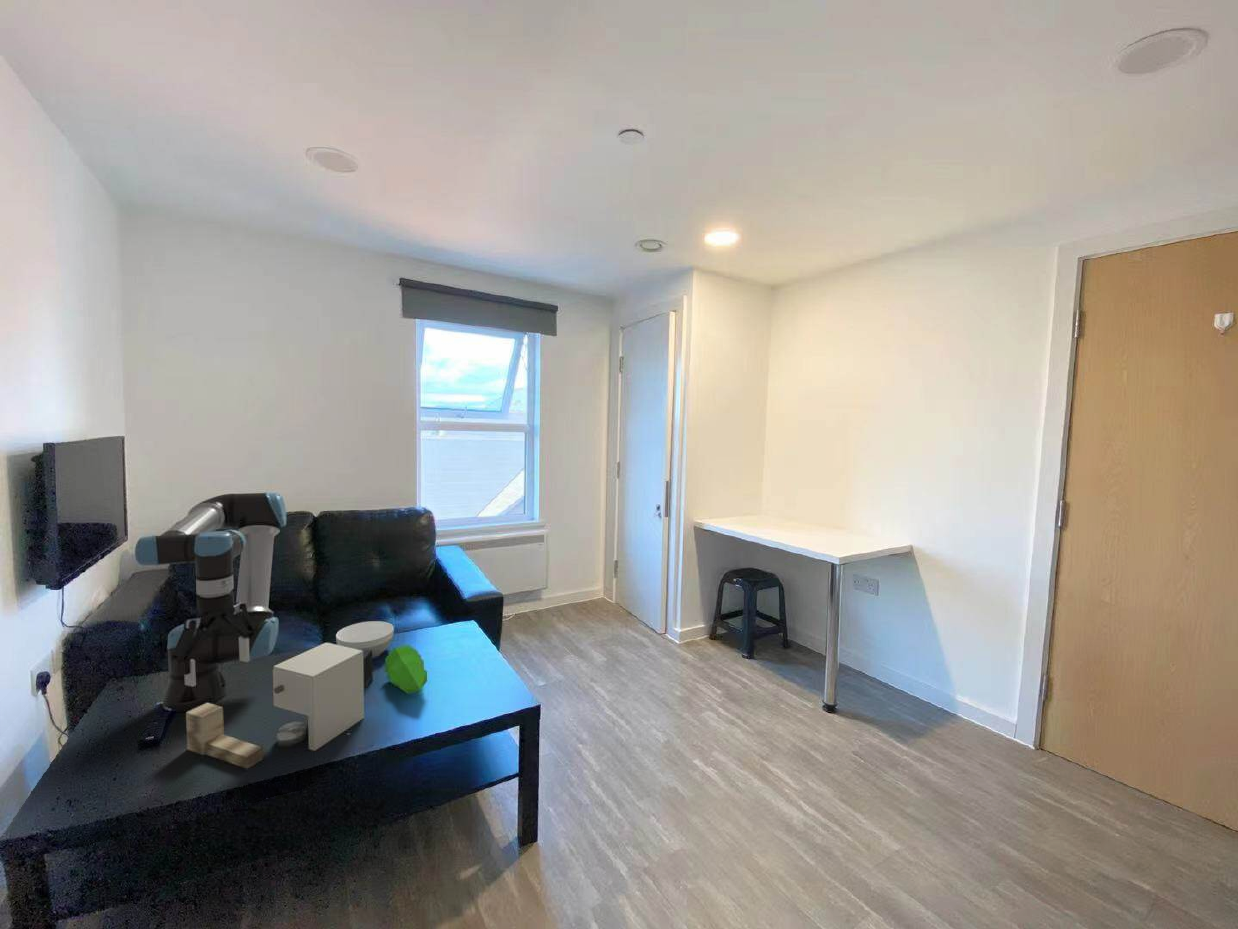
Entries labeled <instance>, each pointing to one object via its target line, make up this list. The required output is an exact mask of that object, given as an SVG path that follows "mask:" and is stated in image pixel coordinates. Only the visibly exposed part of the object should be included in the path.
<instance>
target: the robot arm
mask: <svg viewBox="0 0 1238 929" xmlns="http://www.w3.org/2000/svg"><path fill="white" fill-rule="evenodd" d="M285 526H287V510H286V506H285V501H284V498H283V496H282V495H281V494H280V493H278V492H254V493H253V492H252V493H224V494H219V495H216V496H214V497H210V498H207V499H205V500H203V501H201V502H199V503H197V504H196V505H194V506H193V507H191V508H190V509H189V510H188V513H187V515H186V516H185V517H184V518H182V519H181V520H179V521H178V522H176V523H175V524H173V526H171V527H170V528H168V529H167V530H166V531H164V532H163V533H162V534H160V535H149V536H142V537H140V538H139V539H138V540H137V542H136V544H135V547H134V556H135V560H136V562H137V563H138V565H140V566H161V565H162V566H163V565H173V564H174V565H175V564H188V563H190V564H191V563H195V581H196V582H195V583H196V584H195V586H196V588H195V589H196V590H195V591H196V592H195V593H196V595H197V597H196V606H197V607H196V608H197V609H196V610H197V612H198V616H197V617H196V618H193V619H191V618H190V619H189V618H187V619H185V620H184V622H183V623H182V624H181V625H178V626H176V627H174V628H173V629H171V631H169V633H168V635H167V646H166V649H167V662H168V664H167V665H168V678H169V679H168V682H167V685H166V688H165V691H164V693H163V696H162V698H161V699H162V701H161V702H162V703H161V704H162V705H163V706H165V707H168V708H171V709H172V710H174V711H176V712H175V713H178V712H179V713H182V712H188V711H190V710H192V709H194V708H197V707H199V706H201V705H203V704H205V703H210V704H214V703H216V702H217V701H220V700H221V699H223V697H225V696H226V695H227V692H228V683H227V681H226V679H225V677H224V675H223V673H222V671H221V669H220V664H221V663H222V664H223V663H229V662H236V661H237V662H238V661H240V662H244V663H248V662H250V661H251V660H255V659H258V658H259V659H260V658H263V657H267V656H269V655H270V654H271V653H272V652H273V650H274V648H275V646H276V642H277V638H278V633H279V624H280V622H279V618H278V617H277V616H276V617H275V616H274V611H273V610H271V609H270V608H269V601H270V588H271V577H272V567H273V566H272V565H273V554H274V553H273V552H274V542H275V541H274V540H275V537H276V536H277V535H278V534H279V533H280V531H281V528H283V527H285ZM222 529H223V530H222ZM224 529H225V530H224ZM236 529H237V530H236ZM217 530H218V531H217ZM220 530H221V531H220ZM239 555H240V560H239V570H238V571H239V572H238V578H237V579H238V580H237V588H236V590H237V591H236V600H235V592H234V591H233V590H234V587H235V586H234V582H235V581H234V559H236V557H238V556H239ZM163 706H162V707H163Z"/></svg>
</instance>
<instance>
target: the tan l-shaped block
mask: <svg viewBox="0 0 1238 929" xmlns="http://www.w3.org/2000/svg"><path fill="white" fill-rule="evenodd" d="M185 718H186V719H185V723H186V743H187V746H186V747H187V750H188V751H190V752H193V753H196V754H199V755H200V756H201V755H202V756H204V755H207V756H210V757H213V758H216V759H218V760H222V761H224V762H227V763H230V764H232V765H235V766H238V767H241V768H244V769H249V768H251V767H253V766H254V765H256V764H257V763H259V762H260V761H262V760H264V747H263V746H259V745H257V744H253V743H250V742H247V741H244V740H241V739H238V738H236V737H232V736H229V735H227V734H225V733H224V732H225V730H224V729H225V727H224V708H223V706H220V705H216V704H214V703H212V704H210V703H205V704H203V705H201V706H199V707H197V708H194V709H192V710H189V711H185Z"/></svg>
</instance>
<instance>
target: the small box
mask: <svg viewBox="0 0 1238 929" xmlns="http://www.w3.org/2000/svg"><path fill="white" fill-rule="evenodd" d="M362 651H363V676H364V690H365V689H366V688H367V687H368V686H369V685H370V684H371V683H372V681H373V680H374V679H373V659H372V650H362Z"/></svg>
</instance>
